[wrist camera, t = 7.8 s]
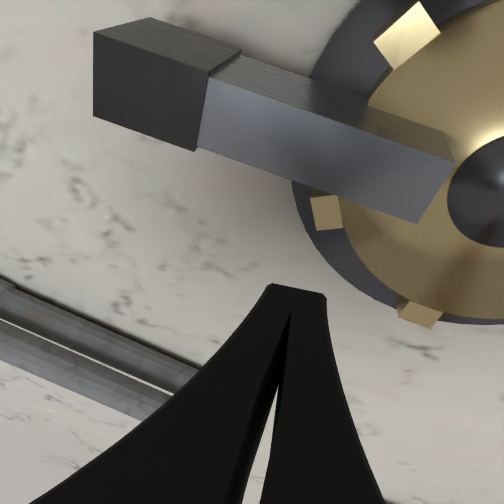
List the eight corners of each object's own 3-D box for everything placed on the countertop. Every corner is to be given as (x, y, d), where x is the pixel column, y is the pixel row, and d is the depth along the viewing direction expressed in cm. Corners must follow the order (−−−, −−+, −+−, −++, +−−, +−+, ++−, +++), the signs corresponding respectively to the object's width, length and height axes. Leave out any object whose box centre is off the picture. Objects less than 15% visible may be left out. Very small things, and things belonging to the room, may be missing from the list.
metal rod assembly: (218, 365, 27) (192, 433, 23) (207, 385, 29) (181, 452, 25) (-138, 207, 26) (-226, 250, 23) (-127, 238, 28) (-208, 283, 24)
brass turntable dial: (913, 21, 10) (1172, 50, 7) (540, 345, 18) (576, 428, 15) (179, -216, 10) (94, -294, 7) (140, 201, 18) (92, 250, 15)
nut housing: (927, 59, 11) (998, 72, 10) (502, 346, 20) (511, 372, 19) (470, -236, 10) (485, -264, 9) (240, 208, 19) (231, 225, 18)
